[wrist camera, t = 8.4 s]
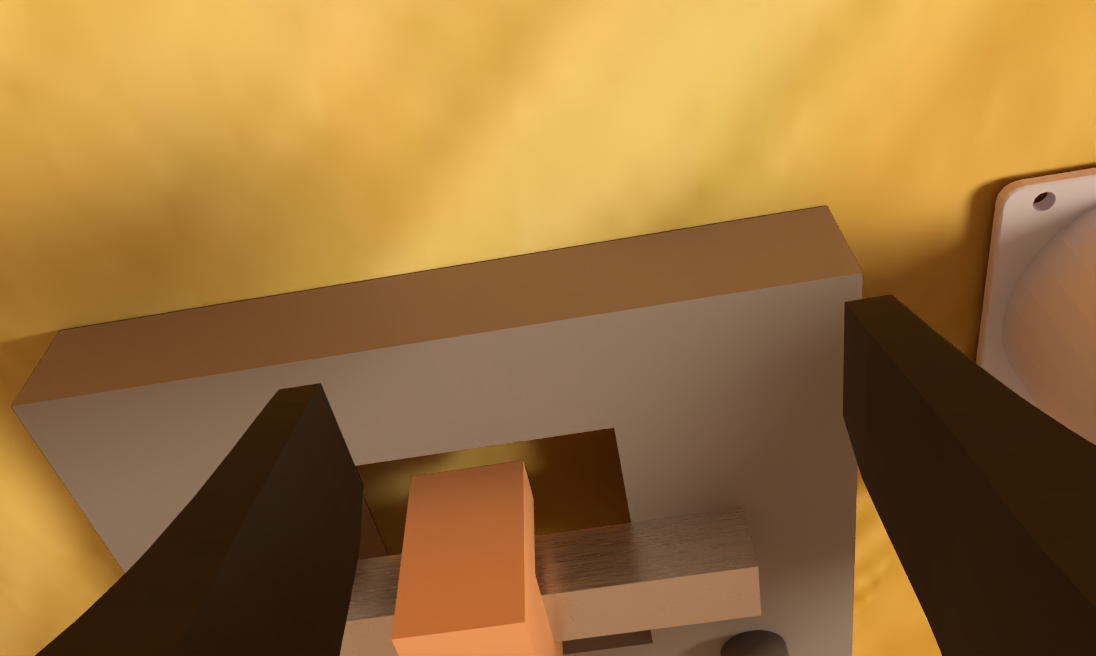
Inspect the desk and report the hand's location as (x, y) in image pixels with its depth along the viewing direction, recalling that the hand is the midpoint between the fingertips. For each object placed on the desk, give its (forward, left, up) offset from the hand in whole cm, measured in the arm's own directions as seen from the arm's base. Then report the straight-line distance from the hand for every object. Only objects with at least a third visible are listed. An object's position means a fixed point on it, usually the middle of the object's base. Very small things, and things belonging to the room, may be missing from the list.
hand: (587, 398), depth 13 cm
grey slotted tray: (+4, +12, -10) cm, 16 cm away
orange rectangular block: (+4, +12, -8) cm, 15 cm away
